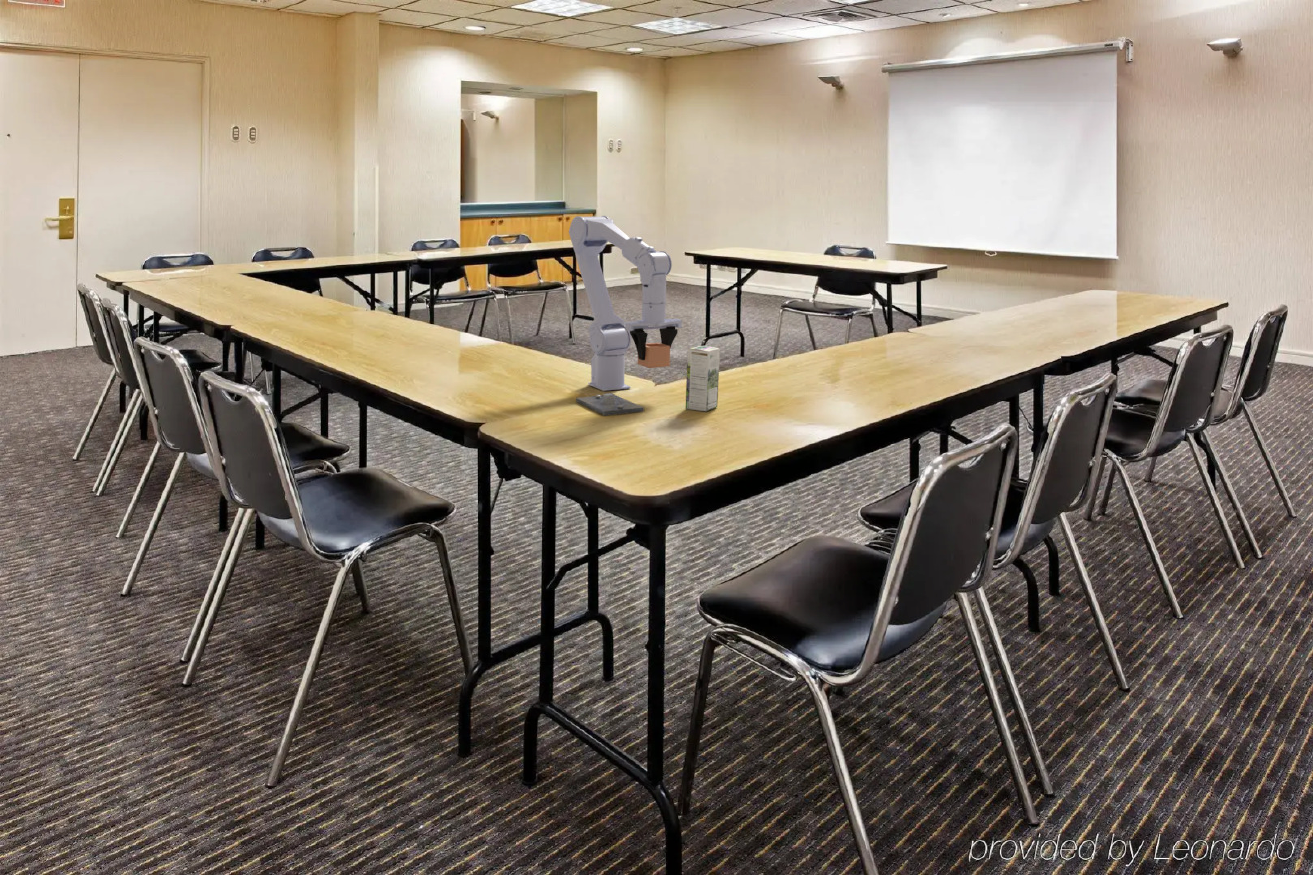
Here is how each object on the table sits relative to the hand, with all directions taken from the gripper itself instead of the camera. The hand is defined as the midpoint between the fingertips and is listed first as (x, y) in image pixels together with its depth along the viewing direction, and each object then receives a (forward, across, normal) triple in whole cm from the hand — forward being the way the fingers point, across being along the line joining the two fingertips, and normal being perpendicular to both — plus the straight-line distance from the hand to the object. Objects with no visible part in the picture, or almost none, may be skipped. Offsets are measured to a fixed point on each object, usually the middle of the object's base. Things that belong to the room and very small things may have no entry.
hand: (653, 358), depth 240 cm
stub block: (+10, -14, -4) cm, 18 cm away
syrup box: (+10, +5, -15) cm, 19 cm away
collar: (+2, 0, 0) cm, 2 cm away
